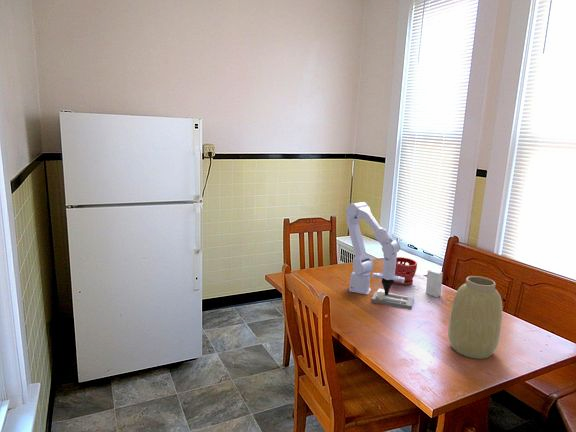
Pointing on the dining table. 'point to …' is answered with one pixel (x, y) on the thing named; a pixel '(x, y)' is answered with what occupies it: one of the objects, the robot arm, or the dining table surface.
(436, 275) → the skincare box
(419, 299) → the dining table surface
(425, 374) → the dining table surface
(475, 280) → the vase
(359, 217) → the robot arm
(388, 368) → the dining table surface
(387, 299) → the board
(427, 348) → the dining table surface
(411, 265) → the plant pot
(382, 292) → the fader tab
